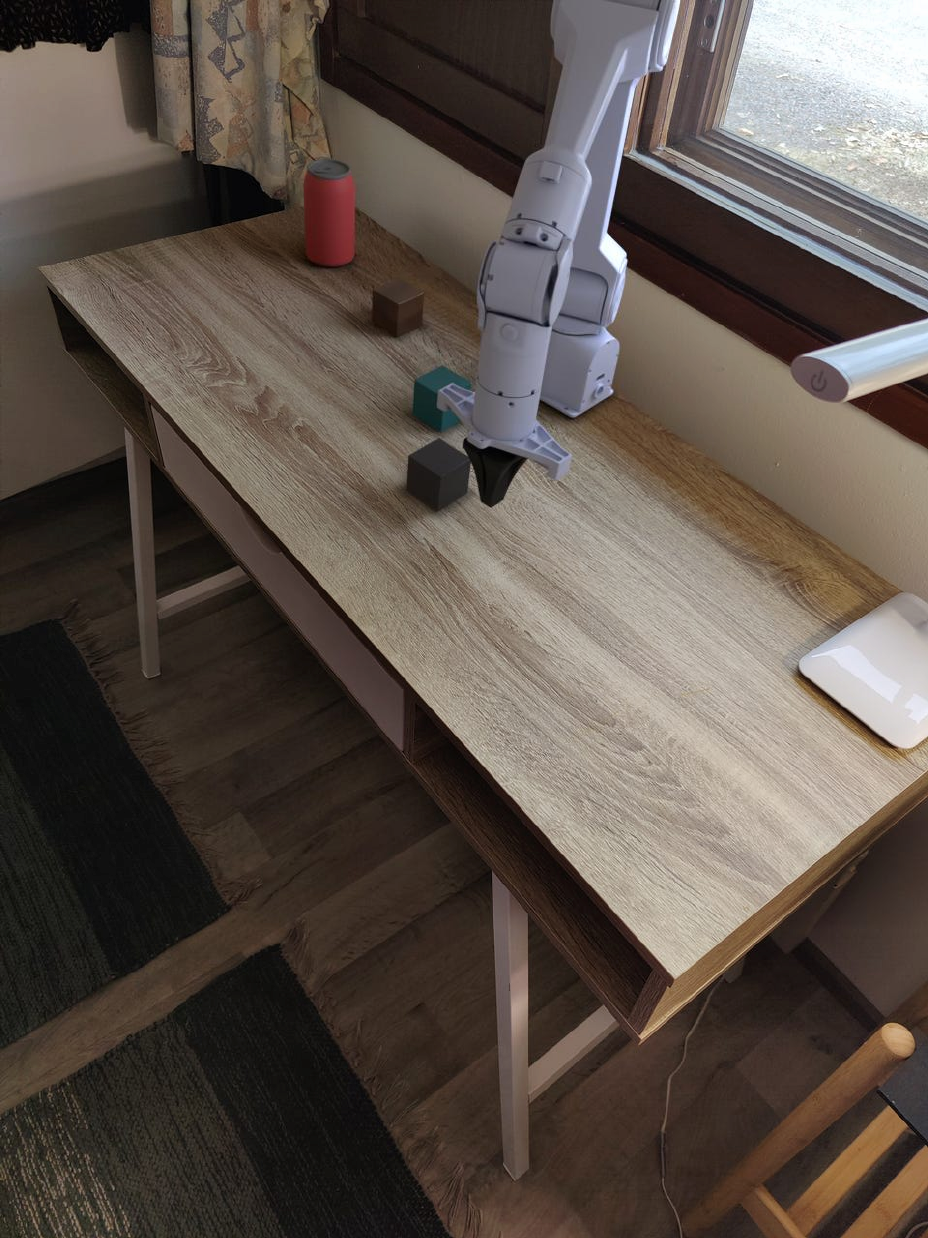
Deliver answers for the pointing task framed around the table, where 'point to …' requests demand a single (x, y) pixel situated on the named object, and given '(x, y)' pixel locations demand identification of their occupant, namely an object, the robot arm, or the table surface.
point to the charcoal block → (438, 474)
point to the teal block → (428, 395)
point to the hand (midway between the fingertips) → (492, 500)
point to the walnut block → (397, 307)
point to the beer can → (329, 213)
